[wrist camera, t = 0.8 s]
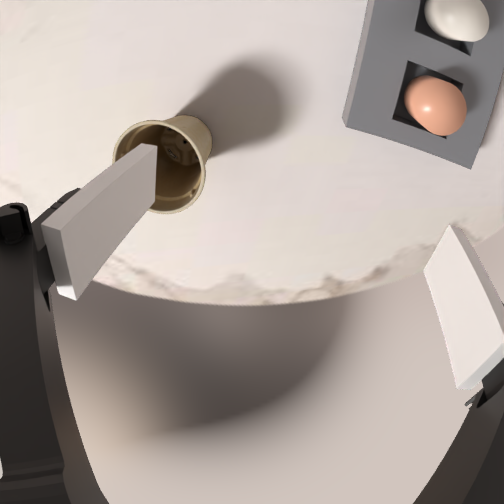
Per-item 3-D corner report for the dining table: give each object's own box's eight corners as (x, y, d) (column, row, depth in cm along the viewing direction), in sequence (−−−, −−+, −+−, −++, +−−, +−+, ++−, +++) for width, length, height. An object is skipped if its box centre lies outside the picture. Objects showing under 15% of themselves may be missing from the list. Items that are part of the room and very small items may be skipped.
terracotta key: (410, 67, 23) (424, 72, 20) (455, 86, 23) (472, 93, 20) (398, 114, 26) (409, 124, 23) (441, 130, 26) (457, 143, 23)
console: (384, -106, 13) (392, -119, 10) (502, -51, 13) (519, -56, 9) (341, 117, 30) (345, 126, 27) (456, 155, 30) (470, 169, 27)
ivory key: (428, -16, 17) (443, -22, 14) (472, 6, 17) (492, 4, 14) (420, 27, 20) (435, 26, 17) (464, 48, 20) (483, 50, 17)
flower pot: (241, 121, 33) (220, 147, 26) (209, 190, 38) (185, 229, 32) (164, 88, 31) (125, 105, 25) (141, 158, 37) (104, 190, 30)
